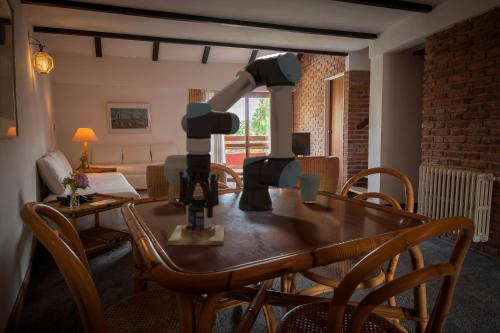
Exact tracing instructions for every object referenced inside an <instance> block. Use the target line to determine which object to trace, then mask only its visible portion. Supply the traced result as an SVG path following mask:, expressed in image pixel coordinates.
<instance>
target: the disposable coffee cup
mask: <svg viewBox="0 0 500 333" xmlns="http://www.w3.org/2000/svg"><path fill="white" fill-rule="evenodd" d="M321 179H322V175H321V173H316V172H315V173H314V172H301V176H300V179H299V188H300V198H301V200H302V201H316V202H317V196H318V192H319V189H320V188H319V187H320V183H321ZM302 201H301V202H302Z"/></svg>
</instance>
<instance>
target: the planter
mask: <svg viewBox="0 0 500 333" xmlns="http://www.w3.org/2000/svg"><path fill="white" fill-rule="evenodd" d="M186 155H187V154H168V155H167V156H166V157H165V161H164V164H163V175H164V178H165V179H166V181H167V182H168V183H169V184H171V186H170V193H169V196H168V201H167V202H168V203H169V204H172V203H173V202H174V200H175V196H176V192H177V189H178V187H179V188H180V176H179V172H182V171H186V170H187V168H188V166H187V164H186ZM188 181H189V176H188Z"/></svg>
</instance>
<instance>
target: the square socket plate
mask: <svg viewBox="0 0 500 333" xmlns="http://www.w3.org/2000/svg"><path fill="white" fill-rule="evenodd" d="M225 228H226V225H224V224H223V225H219V224H218V225H216V224H214V223H211V227H210V228H208V230H202V231H193V230H189V226H186V224H183V225H178V224H177V226H176V227H175V229H174V231H173V232H172V233H171V235H170V236H169V239H168V240H167V245H168V246H194V245H195V246H200V245H201V246H207V245H208V246H209V245H210V246H211V245H212V246H221V245H224V241H225V240H224V239H225Z"/></svg>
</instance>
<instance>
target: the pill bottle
mask: <svg viewBox="0 0 500 333" xmlns="http://www.w3.org/2000/svg"><path fill="white" fill-rule="evenodd" d="M190 204H192V205H191V206H189V230H193V231H202V230H208V228H207V229H204V208H205V207H206V203H205V200H204V196H193V198H191V203H190Z"/></svg>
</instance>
